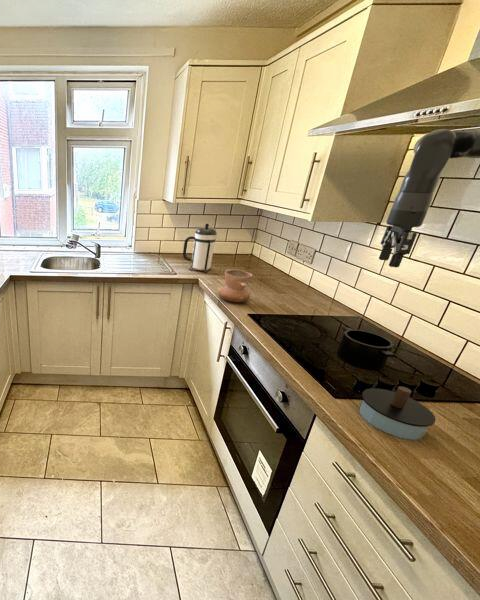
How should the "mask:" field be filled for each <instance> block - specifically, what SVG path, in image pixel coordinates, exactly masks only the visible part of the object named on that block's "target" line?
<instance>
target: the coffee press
mask: <svg viewBox="0 0 480 600" xmlns="http://www.w3.org/2000/svg"><path fill="white" fill-rule="evenodd" d="M194 235H195V236H193V235H192V236H188V237H187V238H186V239H185V240H184V243H183V250H182V254H183V255H182V257H183V259H184V260H185V261H187V262H190V267H189V269H188V271H191V272H192V271H193V270H198V271H203V274H208V270H209V269H211V270H212V261H213V255H214V249H215V244H216V239H219V236H218V232H217V230H216V229H215V228H214V227H210V224H209V223H205V224H204V226H202V227H201V226H200V227H198V228H196V230H195V231H194ZM191 240H193V248H192V257H191V258H190V257H188V256H187V248H188V242H189V241H191Z"/></svg>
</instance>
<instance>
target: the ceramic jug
mask: <svg viewBox="0 0 480 600" xmlns="http://www.w3.org/2000/svg"><path fill="white" fill-rule="evenodd" d="M252 278H253V274H252V272H251V273H250V272H249V271H246V270H242V269H237V268H229V269H226V270H225V271H224V280H225V282H224V283H225V286H222V287H221V288H219V290H218V296H219V297H220V298H221V299H223V300H225V301H226V302H229V303H235V304H237V303H238V304H239V303H246V302H247V301H249V300H250V298H251V293H250V291H249V290H247V289H246V287H247V286H248V285H249V283H250V281H252Z"/></svg>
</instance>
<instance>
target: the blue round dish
mask: <svg viewBox="0 0 480 600" xmlns="http://www.w3.org/2000/svg"><path fill="white" fill-rule="evenodd" d="M359 414H360V416H361V417H362V418H363V419H364V420H365V421H366V422H368V423H369V424H370V425H371V426H372V427H374V428H376V429H377V430H380V431H381V432H383V433H386V434H388V435H390V436H392V437H393V436H394V437H396V438H400V439H404V440H413V441H414V440H420V439H422V438H423V437H424V436H426V434H427V432H428V430H429V428H430V427H431V426H428V427H418V426H412V425H407V424H404V423H400V422H398V421H395V420H392V419H390V418H388V417H386V416H384V415H382V414H380V413H378V412H377V411H375V410H374V409H372V408H371V407H370V406H368V405H367V404H366V403H365V401H364V400H363V399H362V401H361V404H360V407H359Z"/></svg>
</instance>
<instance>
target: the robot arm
mask: <svg viewBox="0 0 480 600" xmlns="http://www.w3.org/2000/svg"><path fill="white" fill-rule="evenodd" d="M412 151H413V154H414V156H413V158H412V161H411V163H410V167H409V169H408V171H407V172H405V173H406V174H405V175H404V177H403V178H402V182H401V184H400V188H399V190H398V192H397V194H396V196H395V198H394V200H393V203H392V206H391V208H390V211H389V214H388V217H387V219H386V224H387V226H386V228H385V231H384V233H383V236H382V238H381V240H380V245H381V248H382V249H381V251H380V254H379V255H378V256H379V257H378V259H379V260H380V261H389V263H388V266H389V267H390V268H399V267H400V266H401V263H402V261H403V258H404V256H406V255H410V254H411V251H412V248H413V245H414V243H415V240H416V237H417V236H418V235H417V234H418V233H417V232H412V231H413V228H419V227H421V226H422V225H423V223H424V220H425V218H426V216H427V213H428V211H429V209H430V206H431V204H432V201H433V197H434V193H435V191H436V188H437V186H438V183H439V181H440V178H441V174H442V172H443V170H444V168H445V167H446V166H447V163H448V162H449V160H450V159H461V158H463V159H480V128H478V129H471V130H469V129H468V130H452V129H451V130H450V129H448V128H440V129H439V128H438V129H435V130H433V131H430V132H428V133H426V134H424V135H423V136H421V137H420V138H419V139H418V140H417V141H415V144H414V145H413V150H412ZM392 252H393V253H392ZM391 254H392V255H391ZM390 257H391V258H390ZM389 259H390V260H389Z"/></svg>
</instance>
